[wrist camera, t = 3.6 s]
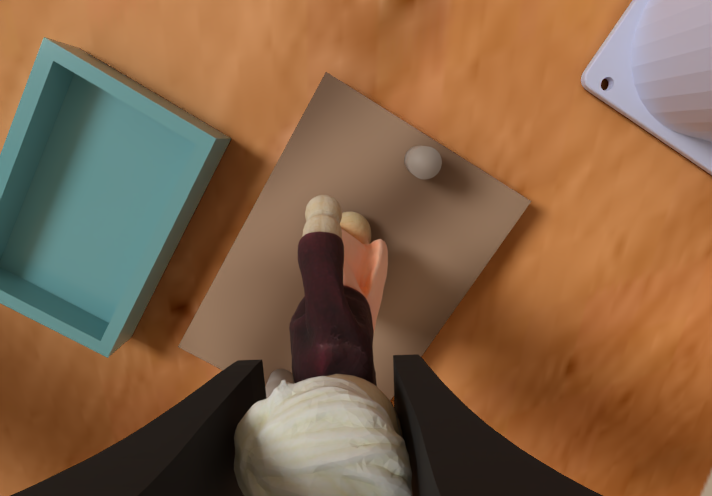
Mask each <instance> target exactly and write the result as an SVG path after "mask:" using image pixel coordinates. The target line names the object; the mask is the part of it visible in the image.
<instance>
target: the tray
mask: <svg viewBox="0 0 712 496" xmlns="http://www.w3.org/2000/svg"><path fill="white" fill-rule="evenodd" d="M230 140H231V138H230V137H228V136H226V135H225V134H223V133H221V132H220V131H218V130H216V129H215V128H213V127H211V126H210V125H208V124H206V123H205V122H203V121H201V120H199V119H198V118H196V117H194V116H193V115H191V114H189V113H188V112H186V111H184V110H183V109H181V108H179V107H178V106H176V105H174V104H172V103H171V102H169V101H167V100H166V99H164V98H162V97H161V96H159V95H157V94H156V93H154V92H152V91H151V90H149V89H147V88H145V87H144V86H142V85H140V84H139V83H137V82H135V81H134V80H132V79H130V78H129V77H127V76H125V75H124V74H122V73H120V72H118V71H117V70H115V69H113V68H112V67H110V66H108V65H107V64H105V63H103V62H102V61H100V60H98V59H97V58H95V57H93V56H91V55H90V54H88V53H86V52H85V51H83V50H81V49H80V48H78V47H74V46H71V45H68V44H65V43H62V42H58V41H55V40H52V39H49V38H45V37H44V38H43V41H42V44H41V46H40V49H39V52H38V54H37V57H36V60H35V62H34V65H33V68H32V71H31V73H30V76H29V79H28V81H27V84H26V87H25V89H24V92H23V95H22V98H21V100H20V103H19V106H18V108H17V111H16V114H15V117H14V119H13V122H12V125H11V127H10V130H9V133H8V135H7V138H6V141H5V144H4V146H3V149H2V152H1V154H0V303H1V304H3V305H5V306H7V307H9V308H11V309H13V310H15V311H17V312H19V313H21V314H23V315H25V316H27V317H28V318H30V319H32V320H34V321H36V322H38V323H40V324H42V325H44V326H46V327H48V328H50V329H52V330H54V331H56V332H58V333H60V334H62V335H64V336H66V337H68V338H70V339H72V340H74V341H76V342H78V343H80V344H82V345H84V346H86V347H88V348H90V349H92V350H94V351H95V352H97V353H99V354H101V355H103V356H105V357H107V358H108V357H109V356H110V355H112V354H113V353H114V352H115V351H116V350H117V349H118V348H120V347H121V346H122V345H123V344H124V343H125V342H127V341H128V340H129V339H130V338H131V337H132V335H133V333H134V331H135V329H136V327H137V325H138V323H139V321H140V319H141V317H142V315H143V313H144V311H145V309H146V307H147V305H148V303H149V301H150V299H151V297H152V295H153V293H154V291H155V289H156V287H157V285H158V283H159V281H160V279H161V277H162V275H163V273H164V271H165V269H166V267H167V265H168V263H169V261H170V259H171V257H172V255H173V253H174V251H175V249H176V247H177V245H178V243H179V241H180V239H181V237H182V235H183V233H184V231H185V229H186V227H187V225H188V223H189V221H190V219H191V218H192V216H193V214H194V212H195V210H196V208H197V206H198V204H199V202H200V200H201V198H202V196H203V194H204V192H205V190H206V188H207V186H208V184H209V182H210V180H211V178H212V176H213V174H214V172H215V170H216V168H217V166H218V164H219V162H220V160H221V158H222V156H223V154H224V152H225V150H226V148H227V146H228V144H229V142H230Z"/></svg>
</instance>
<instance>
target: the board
mask: <svg viewBox="0 0 712 496" xmlns="http://www.w3.org/2000/svg"><path fill="white" fill-rule="evenodd" d="M319 195H329V196H331V197H333V198H335V199H336V200H337V201H338V202H339V204H340V206H341V208H342V213H344V212H356V213H359V214H361V215H362V216H363V217H365V219H366V220H367V221H368V223H369V225H370V228H371V242H370V243H372V242H373V241H375V240H378V239H382V240H383V241H385V243H386V245H387V249H388V268H387V276H386V281H385V285H384V289H383V296H382V300H381V305H380V309H379V312H378V316H377V320H376V326H375V331H374V335H373V362H374V368H375V372H376V383H377V387H378V388H379V389H380V390H381V391H382V392H383V393H384V394H385V395H386V396H387V398H388V399H389V400H391V399H392V397H393V396H394V370H393V355H414V354H418V355H419V356H420V357H421V356H422V355H423V354H424V352H425V351H426V349H427V348H428V347H429V345H430V344H431V342H432V341H433V339H434V338H435V337H436V335H437V334H438V332H439V331H440V330H441V328H442V327H443V325H444V324H445V323H446V321H447V320H448V318H449V317H450V315H451V314H452V313H453V311H454V310H455V308H456V307H457V306H458V304H459V303H460V301H461V300H462V298H463V297H464V296H465V294H466V293H467V291H468V290H469V289H470V287H471V286H472V284H473V283H474V282H475V280H476V279H477V277H478V276H479V274H480V273H481V272H482V270H483V269H484V267H485V266H486V265H487V263H488V262H489V260H490V259H491V258H492V256H493V255H494V253H495V252H496V250H497V249H498V248H499V246H500V245H501V243H502V242H503V241H504V239H505V238H506V236H507V235H508V234H509V232H510V231H511V229H512V228H513V226H514V225H515V224H516V222H517V221H518V219H519V218H520V217H521V215H522V214H523V212H524V211H525V210H526V208H527V207H528V205H529V204H530V202H531V201H530V200H528V199H527V198H525V197H524V196H522V195H520V194H519V193H517V192H516V191H514V190H512V189H511V188H509V187H508V186H506V185H505V184H503V183H501V182H500V181H498V180H497V179H495V178H493V177H492V176H490V175H489V174H487V173H486V172H484V171H482V170H481V169H479V168H478V167H476V166H474V165H473V164H471V163H470V162H468V161H466V160H465V159H463V158H462V157H460V156H459V155H457V154H455V153H454V152H452V151H451V150H449V149H447V148H446V147H444V146H443V145H441V144H440V143H438V142H436V141H435V140H433V139H432V138H430V137H428V136H427V135H425V134H424V133H422V132H420V131H419V130H417V129H416V128H414V127H413V126H411V125H409V124H408V123H406V122H405V121H403V120H401V119H400V118H398V117H397V116H395V115H394V114H392V113H390V112H389V111H387V110H386V109H384V108H382V107H381V106H379V105H378V104H376V103H375V102H373V101H371V100H370V99H368V98H367V97H365V96H363V95H362V94H360V93H359V92H357V91H355V90H354V89H352V88H351V87H349V86H348V85H346V84H344V83H343V82H341V81H340V80H338V79H336V78H335V77H333V76H332V75H330V74H329V73H327V72H326V73H325V75H324V77H323V79H322V80H321V82H320V84H319V86H318V88H317V90H316V92H315V93H314V95H313V97H312V99H311V101H310V103H309V105H308V106H307V108H306V110H305V112H304V114H303V116H302V118H301V119H300V121H299V123H298V125H297V127H296V129H295V131H294V132H293V134H292V136H291V138H290V140H289V142H288V144H287V145H286V147H285V149H284V151H283V153H282V155H281V157H280V158H279V160H278V162H277V164H276V166H275V168H274V170H273V171H272V173H271V175H270V177H269V179H268V181H267V183H266V184H265V186H264V188H263V190H262V192H261V194H260V196H259V197H258V199H257V201H256V203H255V205H254V207H253V209H252V210H251V212H250V214H249V216H248V218H247V220H246V222H245V223H244V225H243V227H242V229H241V231H240V233H239V235H238V236H237V238H236V240H235V242H234V244H233V246H232V248H231V249H230V251H229V253H228V255H227V257H226V259H225V261H224V262H223V264H222V266H221V268H220V270H219V272H218V274H217V275H216V277H215V279H214V281H213V283H212V285H211V287H210V288H209V290H208V292H207V294H206V296H205V298H204V300H203V301H202V303H201V305H200V307H199V309H198V311H197V313H196V314H195V316H194V318H193V320H192V322H191V324H190V326H189V327H188V329H187V331H186V333H185V335H184V337H183V339H182V340H181V342H180V344H179V346H178V347H179V348H181V349H183V350H185V351H187V352H189V353H191V354H193V355H194V356H196V357H198V358H200V359H202V360H204V361H206V362H208V363H210V364H212V365H214V366H216V367H217V368H219V369H221V370H224V369H226V368H227V367H228V366H230V365H231V364H233V363H234V362H236V361H238V360H262V362H263V370H264V379H265V388H266V397H267V398H268V397H269V396H270V395H271V393H272V392H273V390H274V389H275V388H276V387H278V386H279V385H280V383H281V381H282V380H286V382H289V383H295V382H294V379H293V374H292V355H291V343H290V331H289V325H290V322H291V318H292V316H293V315H294V313H295V311H296V309H297V307H298V305H299V303H300V302H301V300H302V299H303V297H304V296H305V294H304V287H303V281H302V275H301V272H300V269H299V264H298V244H299V241H300V239H301V238H302V235H303V229H304V226H305V223H306V218H305V211H306V206H307V204H308V203H309V201H310V200H311V199H312V198H314V197H316V196H319Z"/></svg>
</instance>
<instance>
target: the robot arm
mask: <svg viewBox="0 0 712 496" xmlns="http://www.w3.org/2000/svg"><path fill="white" fill-rule="evenodd" d="M603 79H607V81H608V84H609V85H608V88H607V89H606V90H603V89H602V88H601V82H602V80H603ZM581 83H582V86H583V87H584V88H585V89H586V90H587V91H589V92H590V93H592V94H593V95H595V96H596V97H597V98H599V99H600V100H602V101H603V102H605V103H606V104H608V105H609V106H611V107H612V108H614V109H615V110H617V111H618V112H620V113H621V114H622V115H624V116H625V117H627V118H628V119H630V120H631V121H633V122H634V123H636V124H637V125H639V126H640V127H642V128H643V129H645V130H646V131H647V132H649V133H650V134H652V135H653V136H655V137H656V138H658V139H659V140H661V141H662V142H664V143H665V144H667V145H668V146H670V147H671V148H672V149H674V150H675V151H677V152H678V153H680V154H681V155H683V156H684V157H686V158H687V159H689V160H690V161H692V162H693V163H695V164H696V165H697V166H699V167H700V168H702V169H703V170H705V171H706V172H708V173H709V174H711V175H712V0H632V2H631V3H630V5H629V6H628V8H627V9H626V10H625V12H624V13H623V15H622V16H621V18H620V19H619V21H618V22H617V24H616V25H615V26H614V28H613V29H612V31H611V32H610V34H609V35H608V37H607V38H606V40H605V41H604V43H603V44H602V45H601V47H600V48H599V50H598V51H597V53H596V54H595V56H594V57H593V59H592V60H591V61H590V63H589V64H588V66H587V67H586V69H585V70H584V72H583V74H582V76H581ZM393 370H394V408H395V411H396V413H397V415H398V418H399V421H400V424H401V428H402V436H403V439H404V441H405V445H406V449H407V452H408V455H409V460H410V467H411V471H412V480H411V488H412V496H602V495H600V494H598V493H596V492H594V491H592V490H590V489H588V488H586V487H584V486H582V485H581V484H579V483H577V482H575V481H573V480H571V479H570V478H568V477H566V476H564V475H562V474H561V473H559V472H557V471H556V470H554V469H552V468H551V467H549V466H547V465H546V464H544V463H542V462H541V461H539V460H537V459H536V458H534V457H532V456H531V455H529V454H528V453H526V452H525V451H523V450H522V449H520V448H519V447H517V446H516V445H514V444H513V443H512V442H510V441H509V440H508V439H506V438H505V437H503V436H502V435H501V434H499V433H498V432H496V431H495V430H494V429H493V428H491V427H490V426H489V425H487V424H486V423H485V422H484V421H483V420H481V419H480V418H479V417H478V416H477V415H476V414H474V413H473V412H472V411H471V410H470V409H469V408H468V407H467V406H466V405H465V404H464V403H463V402H462V401H461V400H460V399H459V398H458V397H457V396H456V395H455V394H454V393H453V392H452V391H451V390H450V389H449V388H448V387H447V386H446V385H445V384H444V383H443V382H442V381H441V380H440V379H439V377H438V376H437V375H436V374H435V373H434V372H433V371H432V369H431V368H430V367H429V366H428V365H427V363H426V362H425V361H424V360H423V359H422V358H421V357H420V356H419V355H418V354H414V355H393ZM264 399H267V397H266V388H265V379H264V370H263V362H262V360H238V361H236V362H234V363H233V364H231V365H230V366H228V367H227V368H226V369H224V370H223V371H221V372H220V373H219V374H217V375H216V376H215V377H213V378H212V379H211V380H209V381H208V382H207V383H205V384H204V385H203V386H201V387H200V388H199V389H197V390H196V391H195V392H193V393H192V394H190V395H189V396H188V397H186V398H185V399H184V400H182V401H181V402H180V403H178V404H177V405H175V406H174V407H172V408H171V409H169V410H168V411H166V412H165V413H163V414H162V415H160V416H159V417H157V418H156V419H154V420H153V421H151V422H150V423H148V424H147V425H145V426H144V427H142V428H141V429H139V430H138V431H136V432H134V433H133V434H131V435H129V436H128V437H126V438H124V439H123V440H121V441H119V442H118V443H116V444H114V445H112V446H110V447H109V448H107V449H105V450H103V451H102V452H100V453H98V454H96V455H94V456H93V457H91V458H89V459H87V460H85V461H83V462H81V463H79V464H77V465H75V466H73V467H71V468H69V469H66V470H64V471H62V472H60V473H58V474H56V475H54V476H52V477H50V478H48V479H46V480H44V481H42V482H40V483H38V484H36V485H34V486H31V487H29V488H27V489H25V490H22V491H20V492H18V493H15V494H13V495H11V496H244V494H243V493H242V491H241V489H240V487H239V485H238V482H237V479H236V475H235V472H234V458H235V444H234V435H235V430H236V428H237V425H238V423H239V422H240V421H241V419H242V418H243V417H244V415H245V414H246V413H247V411H248V410H249V409H250V408H251V406H252V405H253V404H255V403H256V402H258V401H260V400H264Z"/></svg>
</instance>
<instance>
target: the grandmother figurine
mask: <svg viewBox="0 0 712 496" xmlns="http://www.w3.org/2000/svg"><path fill="white" fill-rule="evenodd" d="M305 218H306V223H305V226H304V229H303V235H302V238H301V239H300V241H299V244H298V264H299V269H300V272H301V275H302V281H303V287H304V294H305V296H304V297H303V299H302V300H301V302H300V303H299V305H298V307H297V309H296V311H295V313H294V315H293V316H292V318H291V322H290V325H289V331H290V343H291V355H292V374H293V379H294V382H295V383H289V382H286V380H282V381H281V383H280V385H279V386H278V387H276V388H275V389H274V390H273V392H272V393H271V395H270V396H269V397H268V398H267V399H264V400H260V401H258V402H256V403H255V404H253V405H252V406H251V408H250V409H249V410H248V411H247V413H246V414H245V415H244V417H243V418H242V419H241V421H240V422H239V423H238V425H237V428H236V430H235V435H234V444H235V458H234V472H235V475H236V479H237V482H238V485H239V487H240V489H241V491H242V493H243V494H244V496H412V488H411V480H412V471H411V467H410V460H409V455H408V452H407V449H406V445H405V441H404V439H403V436H402V428H401V424H400V421H399V418H398V415H397V413H396V411H395V408H394V407H393V405H392V403H391V402H390V400H389V399H388V398H387V396H386V395H385V394H384V393H383V392H382V391H381V390H380V389H379V388H378V387H377V383H376V372H375V368H374V362H373V335H374V331H375V326H376V320H377V316H378V312H379V309H380V305H381V300H382V296H383V289H384V285H385V281H386V276H387V268H388V249H387V245H386V243H385V241H383V240H382V239H378V240H375V241H373V242H372V243H370V242H371V228H370V225H369V223H368V221H367V220H366V219H365V217H363V216H362V215H361V214H359V213H356V212H344V213H342V208H341V206H340V204H339V202H338V201H337V200H336V199H335V198H333V197H331V196H329V195H319V196H316V197H314V198H312V199H311V200H310V201H309V203H308V204H307V206H306V211H305Z"/></svg>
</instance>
